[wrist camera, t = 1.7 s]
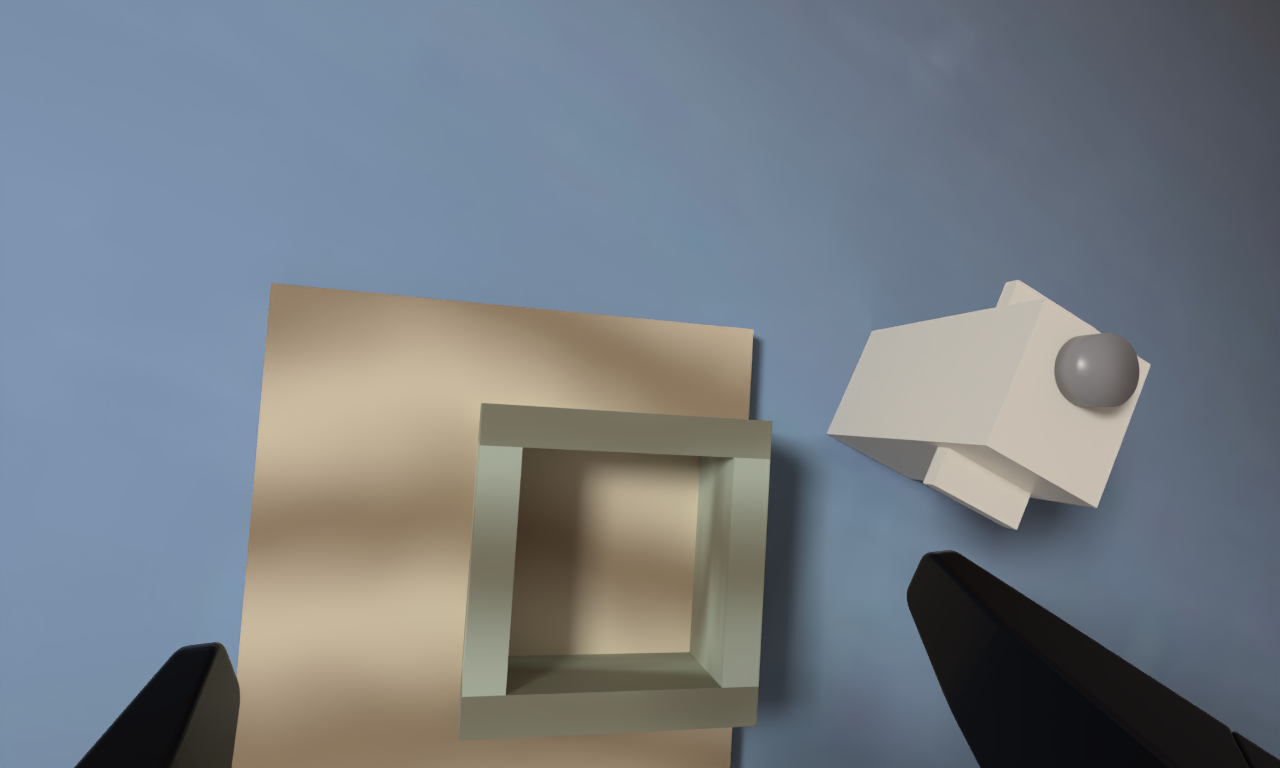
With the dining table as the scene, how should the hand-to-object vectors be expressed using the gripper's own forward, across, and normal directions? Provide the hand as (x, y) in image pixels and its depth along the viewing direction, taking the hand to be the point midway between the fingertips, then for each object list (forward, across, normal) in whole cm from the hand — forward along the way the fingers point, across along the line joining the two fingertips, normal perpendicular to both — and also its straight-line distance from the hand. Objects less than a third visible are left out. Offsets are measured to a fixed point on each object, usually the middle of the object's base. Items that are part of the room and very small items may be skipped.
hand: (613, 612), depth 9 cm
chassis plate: (+11, 0, +11) cm, 16 cm away
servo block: (+14, -14, +8) cm, 21 cm away
